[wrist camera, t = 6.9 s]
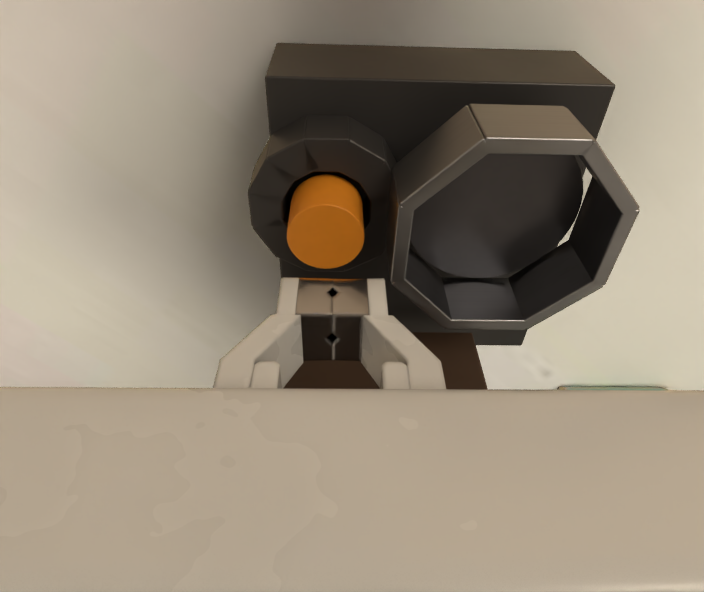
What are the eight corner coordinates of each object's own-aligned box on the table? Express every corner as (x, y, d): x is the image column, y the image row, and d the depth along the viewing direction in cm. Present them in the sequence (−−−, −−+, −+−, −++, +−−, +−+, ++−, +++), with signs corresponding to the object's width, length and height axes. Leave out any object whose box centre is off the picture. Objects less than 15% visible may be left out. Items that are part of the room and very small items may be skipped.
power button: (364, 174, 18) (366, 205, 16) (360, 236, 19) (362, 269, 18) (289, 172, 18) (284, 203, 16) (292, 235, 19) (288, 268, 18)
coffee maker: (633, 106, 16) (1323, 708, 5) (526, 378, 25) (680, 816, 13) (252, 97, 15) (26, 727, 4) (279, 376, 24) (227, 827, 13)
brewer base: (575, 50, 20) (643, 107, 16) (503, 294, 29) (533, 376, 24) (259, 41, 20) (235, 97, 15) (280, 292, 29) (268, 374, 24)
